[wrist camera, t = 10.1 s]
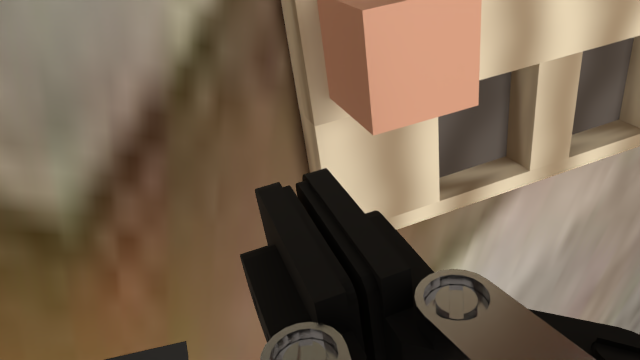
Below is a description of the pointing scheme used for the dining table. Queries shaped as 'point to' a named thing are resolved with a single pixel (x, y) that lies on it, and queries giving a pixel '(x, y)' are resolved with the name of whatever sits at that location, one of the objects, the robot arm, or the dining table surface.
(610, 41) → the board
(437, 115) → the block
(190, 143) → the dining table surface
